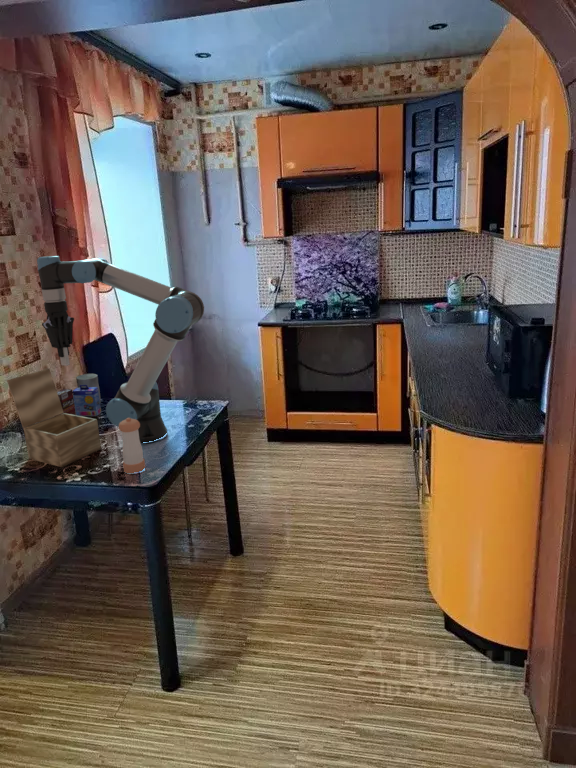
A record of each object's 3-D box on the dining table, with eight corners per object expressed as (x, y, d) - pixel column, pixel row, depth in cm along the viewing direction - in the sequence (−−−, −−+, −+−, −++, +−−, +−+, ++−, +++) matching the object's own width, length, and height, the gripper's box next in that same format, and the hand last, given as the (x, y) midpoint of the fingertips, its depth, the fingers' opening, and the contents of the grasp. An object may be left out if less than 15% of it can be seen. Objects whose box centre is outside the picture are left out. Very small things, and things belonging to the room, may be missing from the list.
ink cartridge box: (75, 416, 248) (70, 385, 244) (80, 412, 254) (75, 382, 250) (97, 416, 248) (92, 385, 244) (101, 412, 253) (97, 381, 249)
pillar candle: (79, 402, 269) (74, 372, 265) (100, 399, 273) (96, 369, 268) (80, 408, 260) (76, 377, 256) (102, 404, 264) (98, 374, 260)
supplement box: (66, 431, 231) (60, 395, 226) (56, 431, 231) (50, 394, 227) (78, 424, 239) (72, 389, 234) (68, 423, 240) (62, 388, 235)
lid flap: (49, 368, 213) (48, 368, 213) (7, 380, 198) (6, 380, 198) (63, 412, 216) (62, 412, 216) (23, 427, 201) (22, 427, 201)
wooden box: (101, 448, 211) (97, 419, 207) (62, 467, 196) (56, 435, 192) (68, 441, 219) (64, 413, 216) (29, 458, 204) (23, 428, 201)
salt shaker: (120, 474, 188) (113, 421, 183) (129, 465, 195) (123, 414, 189) (140, 475, 187) (133, 422, 181) (149, 466, 193) (143, 414, 188)
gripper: (61, 298, 204) (71, 360, 211) (32, 303, 193) (44, 368, 200) (76, 298, 201) (86, 361, 208) (47, 303, 190) (59, 370, 196)
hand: (65, 364), depth 204 cm, fingers closed
